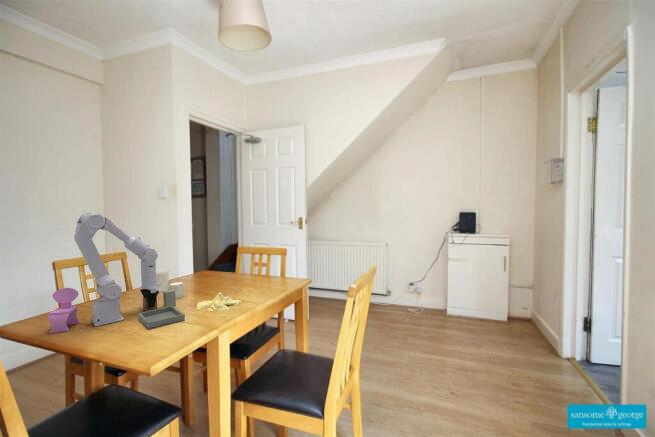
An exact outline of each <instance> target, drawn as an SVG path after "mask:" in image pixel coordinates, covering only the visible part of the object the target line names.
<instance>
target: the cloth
mask: <svg viewBox="0 0 655 437" xmlns="http://www.w3.org/2000/svg"><path fill="white" fill-rule="evenodd" d="M240 304H242V301H241V300H239V299H233V298H232V297H230V296H224V295H223V293H222V292H218V293H216V296H215V297H214V298H213V299H212V300H203V301H198V303H197V304H196V309H197V310H201V309H205V308H206V310H207V311H209V312H212V311H214V310H215V311H216V310H218V311H225V310H226V311H228V310H230V308H229V307H228V306H239V305H240ZM213 309H214V310H213Z"/></svg>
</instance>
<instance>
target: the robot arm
mask: <svg viewBox="0 0 655 437" xmlns="http://www.w3.org/2000/svg"><path fill="white" fill-rule="evenodd" d="M99 230H103V231H107V232H109V233H110V234H111V235H113V236H115V237H116V238H117V239H119V240H120V241H122V243H123V244H124V247H125V248H126V249H127V250H129V252H131V253H133V254H134V255H136V256H137V257H138V259H139V260H140V278H141V280H140V281H141V286H140V288H141V289H139V292H140V293H141V294H142V296H143V297H142V298H145V297H146V299H147V303H148V307H149V308H151V307H154V306H155V302H156V298H157V297H158V295H159V293H160V292H159V291H158V290H157V291H156V287H157V286H159V285H160V284H159V283H156V272H157V264H156V263H157V262H156V260H157V259H158V256H159V254H158V253H157V251H156V250H155V249H154V248H150V245H149V244H146V243H145V242H144V241H142V239H141V237H139V236H135V235H133V236H130V235H129V234H128V233H127V232H125V231H124V230H123V229H122V228H121V227H119V226H118V225H117V224H116V223H115V222H114V221H112V220H111V219H109V218H108V217H106V216H104V215H103V214H102V213H99V212H85V213H83V214H81V215H80V217H79V218H78V219H77V221H76V228H75V231H74V232H75V233H74V241H75V243H76V245H77V247H78V249H79V251H80V253H81V255H82V257H83V260H84V261H85V262H86V265H87V266H88V269H89V270H90V272H91V274H92V276H93V278H94V283H95V285H96V291H95V292H96V293H97V295H99V296H98V300H96V301H91V321H92V323H93V325H94V326H95V327H98V326H104V325H107V324H112V323H116V322H121V321H124V317H123V316H122V310H121V309H122V307H121V294H122V287H121V285H119V284H118V283H117V282H116V281H115V279H114V277H113V276H111V274H110V271H108V268H107V266H106V264H105V262H104V260H103V259H102V257H101V254H100V253H99V251H98V249H97V247H96V245H95V242H94V241H93V239H94V237H95V235H96V234H97V232H98V231H99Z"/></svg>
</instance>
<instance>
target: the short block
mask: <svg viewBox="0 0 655 437" xmlns="http://www.w3.org/2000/svg"><path fill="white" fill-rule="evenodd" d="M142 309H143V311H144V312H147V311H151V310H156V309H158V298H157V297H156V302H155V306H154V307H151V308H149V307H148V303H147V299H146V297H145V298H144V297H142Z"/></svg>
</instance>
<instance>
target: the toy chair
mask: <svg viewBox="0 0 655 437" xmlns="http://www.w3.org/2000/svg"><path fill="white" fill-rule="evenodd" d="M78 297H79V291H78V290H76V289H75V288H73V287H63V288H60V289H57V290H55V291H54V292H53V293H52V299H53V300H54V301H55V302H56V303H59V304H60V305H61V307H57V308H55V309H54V310H52V311H50V312H49V313H48V321H49V324H50V330H49V334H56V333H66V332H70V331H71V330H70V328H69V325H77V324H79V325H80V324H81V322H80V321H79V319H78V317H77V313H78V311H79V308H78V306H77V305H76V306H72V303H73V301H75V300H76V299H77V298H78Z"/></svg>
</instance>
